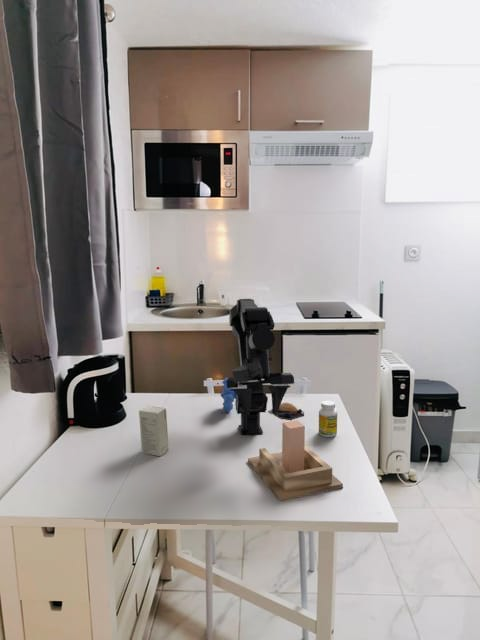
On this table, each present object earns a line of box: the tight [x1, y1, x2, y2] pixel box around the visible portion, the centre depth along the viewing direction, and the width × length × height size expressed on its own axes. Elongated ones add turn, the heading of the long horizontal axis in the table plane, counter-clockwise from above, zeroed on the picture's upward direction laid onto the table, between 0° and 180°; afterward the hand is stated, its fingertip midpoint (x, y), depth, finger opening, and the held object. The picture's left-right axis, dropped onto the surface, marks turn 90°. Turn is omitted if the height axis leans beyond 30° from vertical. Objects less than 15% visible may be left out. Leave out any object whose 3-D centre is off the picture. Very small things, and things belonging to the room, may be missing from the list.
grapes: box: [220, 377, 237, 413], centre depth 163 cm, size 12×7×12 cm, turn 4°
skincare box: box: [138, 405, 170, 457], centre depth 134 cm, size 6×4×12 cm
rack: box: [247, 444, 344, 502], centre depth 122 cm, size 20×16×4 cm
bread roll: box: [267, 402, 305, 421], centre depth 162 cm, size 11×8×4 cm
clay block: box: [281, 419, 306, 473], centre depth 121 cm, size 4×4×12 cm
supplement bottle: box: [318, 400, 338, 438], centre depth 145 cm, size 5×5×10 cm
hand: (261, 414), depth 129 cm, fingers open, 9 cm apart
